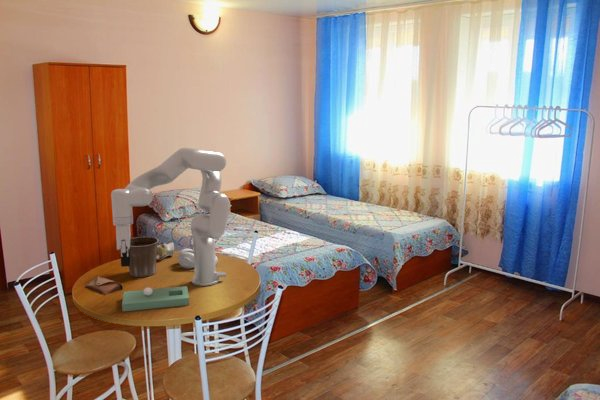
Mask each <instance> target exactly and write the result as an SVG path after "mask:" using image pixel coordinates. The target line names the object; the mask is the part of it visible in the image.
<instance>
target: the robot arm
mask: <svg viewBox="0 0 600 400" xmlns="http://www.w3.org/2000/svg"><path fill="white" fill-rule="evenodd" d="M226 166H227V158H226V156H225V155H224V154H223V153H221V152H219V151H218V152H217V151H212V150H211V151H210V150H203V149H198V148H191V147H190V148H189V147H182V148H179V149H177V151H175V152H174V153H173V154H171V155H170V156H169V157H168V158H166V159H165V160H164V161H163V162H162V163H161V164H159V165H158V166H157V167H154V168H152V169H150V170H148V171H146V172H144V173H142V174H141V175H139V176H137V177H136V178H134V179H133V180H132V181H131V182H130V183H128V184H127V185H126V186H125V188H116V189H114V190H112V191H111V193H110V196H111V198H110V199H111V210H112V212H111V213H112V222H113V223H112V225H113V226H115V237H116V241H115V242H116V250H117V251H120V266H121V267H122V268H123V267H129V266H130V253H129V249H130V242H131V238H132V237H131V235H132V234H131V232H132V231H131V225H133V224H134V214H133V207H145V206H148V205H150V204H151V203H152V201H153V199H154V194H153V192H152V191H151V189H153V188H156V187H159V186H163V185H167V184H171V183H172V182H173V181H175V180H176V179H177V178H178V177H179V176H181V174H183V173H185V171H187V169H192V170H198V171H200V173H201V177H202V180H201V181H202V182H201V185H200V186H201V187H200V193H199V197H198V207H199V209H200V210H202V211H204V212H208V213H209V214H206V213H198V214H196V215H194V216H193V217H192V219H191V222H190V229H191V230H190V231H191V235H192V241H193V250H194V267H193V268H194V276H193V278H191V280H190V281H191V284H192V285H195V286H199V287H200V286H201V287H207V286H213V285H216V284H218V283H220V278H226V277H227V273H226V272H223V271H217V268H216V265H215V255H216V242H215V240H217V239H219V238H221V237H222V236H224V234H225V233H226V232H225V231H226V229H227V225H228V219H229V214H230V209H231V203H230V199H229V197H228V196H227V195H226V194H224V193H222V192H221V188H222V174H221V172H222V171H223V170H224V169H225V168H226Z"/></svg>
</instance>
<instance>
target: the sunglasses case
mask: <svg viewBox="0 0 600 400" xmlns="http://www.w3.org/2000/svg"><path fill="white" fill-rule="evenodd" d="M87 287H88V289H92V290H94V291H97V292H99V293H101V294H104V295H106V296H108V295H111V294H114V293H116V291H117V292H119V291H120V292H121V291H122V290H123V285H122V284H121V283H120V282H118V281H114V280H111V279H109V278H106V277H102V276H100V275H96V276H95V277H94V278H93V279H92V280H91V281H89V282H88V283H87V284H86V285H84V288H87Z"/></svg>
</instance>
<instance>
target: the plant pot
mask: <svg viewBox="0 0 600 400" xmlns="http://www.w3.org/2000/svg"><path fill="white" fill-rule="evenodd" d="M158 244H159V238H157V237H152V236H136V237H131V242H130V249H129V253H130V266H128V274H129V275H130V276H131V277H133V278H145V277H147V276H148V277H150V276H153V275H155V274H156V273H157V260H156V253H157V246H158Z"/></svg>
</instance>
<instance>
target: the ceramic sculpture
mask: <svg viewBox="0 0 600 400" xmlns="http://www.w3.org/2000/svg"><path fill="white" fill-rule="evenodd" d="M174 255H175V245H174V241H171V242H170V243H166V242H160V244H159V245H158V246H157V253H156V261H161V260H163V259H165V258H166V257H168V256H169V257H173V256H174Z"/></svg>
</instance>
